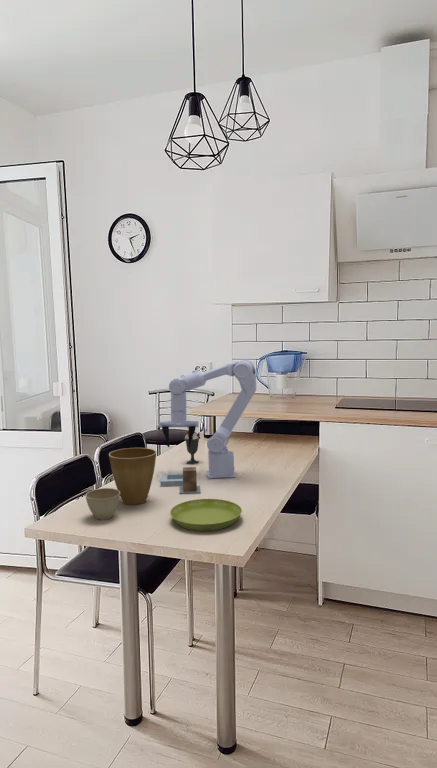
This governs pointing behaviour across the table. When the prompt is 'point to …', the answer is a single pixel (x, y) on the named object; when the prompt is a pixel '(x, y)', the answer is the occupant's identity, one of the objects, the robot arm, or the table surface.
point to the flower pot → (103, 502)
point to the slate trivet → (189, 491)
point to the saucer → (206, 514)
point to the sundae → (192, 446)
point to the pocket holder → (171, 479)
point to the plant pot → (133, 473)
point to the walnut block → (189, 479)
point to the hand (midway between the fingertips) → (178, 446)
